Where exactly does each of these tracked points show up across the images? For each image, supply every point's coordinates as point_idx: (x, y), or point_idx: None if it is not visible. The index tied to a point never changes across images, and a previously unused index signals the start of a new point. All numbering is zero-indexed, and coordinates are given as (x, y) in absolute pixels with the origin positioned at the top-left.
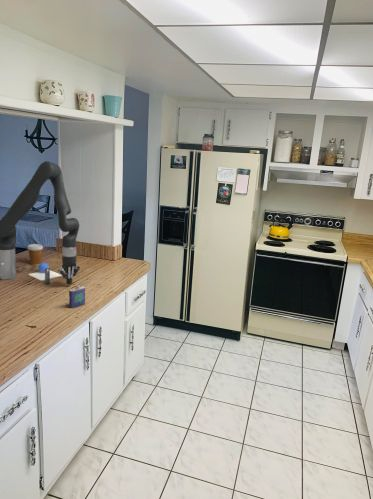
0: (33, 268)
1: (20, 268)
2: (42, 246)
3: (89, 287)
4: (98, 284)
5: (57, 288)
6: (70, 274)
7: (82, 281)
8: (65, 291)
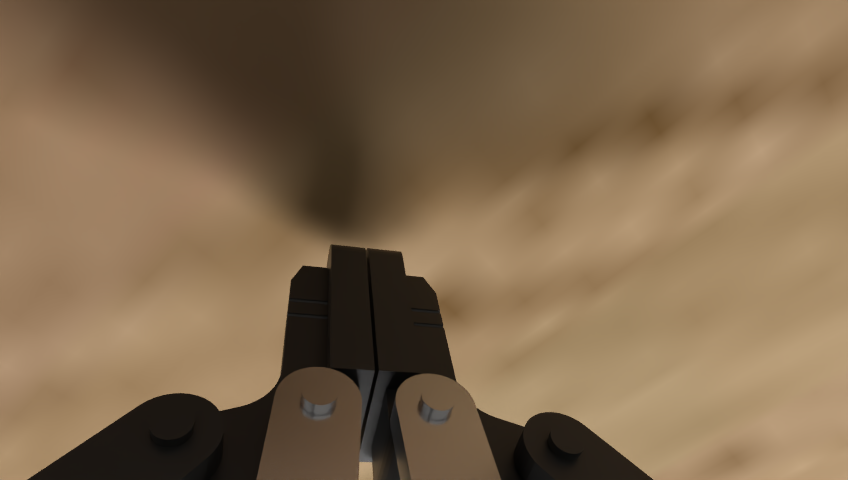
0: None
1: None
2: None
3: None
4: (729, 456)
5: (43, 139)
6: (472, 470)
7: (784, 209)
8: (103, 374)
